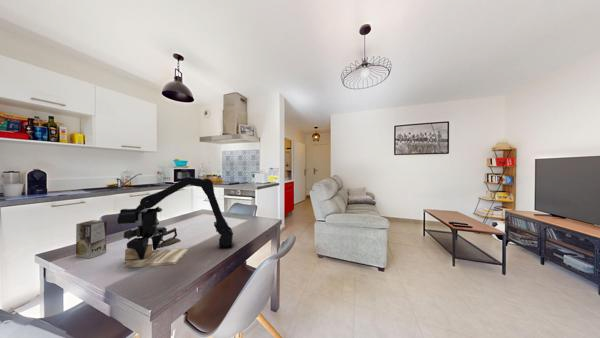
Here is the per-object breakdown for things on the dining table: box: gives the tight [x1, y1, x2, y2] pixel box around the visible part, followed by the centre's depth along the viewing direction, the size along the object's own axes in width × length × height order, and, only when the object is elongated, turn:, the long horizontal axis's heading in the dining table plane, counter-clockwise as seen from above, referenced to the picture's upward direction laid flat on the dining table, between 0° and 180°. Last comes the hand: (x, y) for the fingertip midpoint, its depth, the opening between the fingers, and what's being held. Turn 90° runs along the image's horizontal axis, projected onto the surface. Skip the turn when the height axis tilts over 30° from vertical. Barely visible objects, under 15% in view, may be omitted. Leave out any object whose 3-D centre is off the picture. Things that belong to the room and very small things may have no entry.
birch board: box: [123, 248, 189, 269], centre depth 84 cm, size 20×13×1 cm, turn 101°
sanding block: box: [124, 243, 153, 262], centre depth 82 cm, size 8×5×5 cm, turn 101°
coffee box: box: [75, 219, 108, 259], centre depth 86 cm, size 9×6×16 cm
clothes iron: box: [157, 227, 181, 249], centre depth 99 cm, size 7×11×10 cm, turn 166°
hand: (148, 254), depth 83 cm, fingers open, 9 cm apart
